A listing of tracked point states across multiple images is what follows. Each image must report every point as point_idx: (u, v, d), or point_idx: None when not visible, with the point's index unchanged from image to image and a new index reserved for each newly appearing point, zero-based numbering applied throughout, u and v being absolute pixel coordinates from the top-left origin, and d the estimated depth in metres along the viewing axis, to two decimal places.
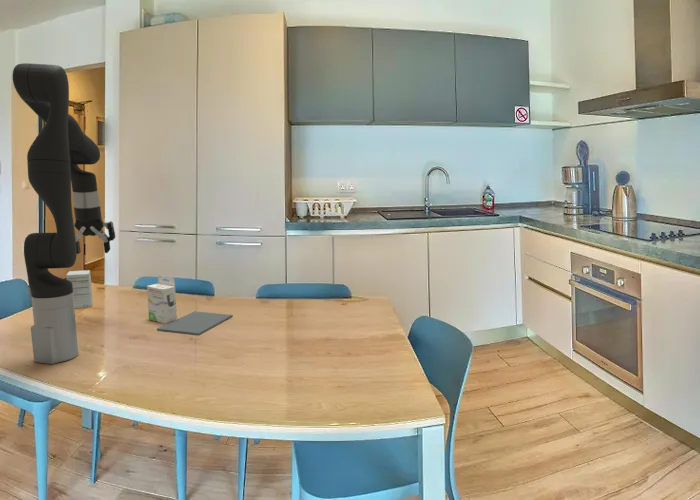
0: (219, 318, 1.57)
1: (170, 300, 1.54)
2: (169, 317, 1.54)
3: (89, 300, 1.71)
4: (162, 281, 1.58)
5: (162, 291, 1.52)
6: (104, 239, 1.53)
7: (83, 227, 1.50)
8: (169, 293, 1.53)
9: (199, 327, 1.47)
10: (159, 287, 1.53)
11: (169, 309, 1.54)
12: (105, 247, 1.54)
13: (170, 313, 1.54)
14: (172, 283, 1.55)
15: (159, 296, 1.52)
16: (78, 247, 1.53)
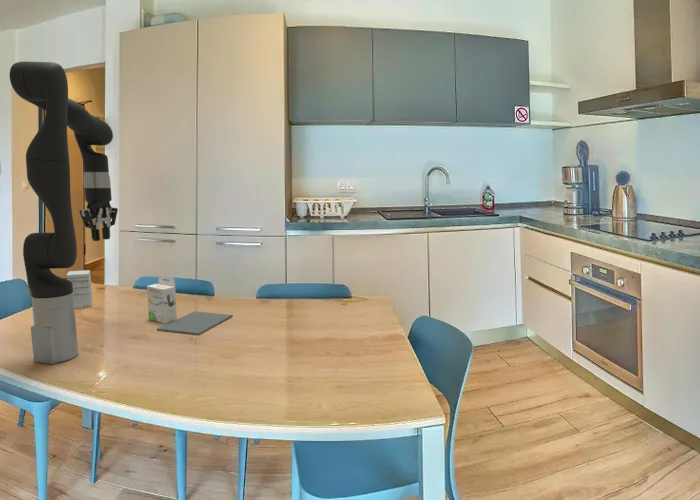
0: (219, 318, 1.57)
1: (170, 300, 1.54)
2: (169, 317, 1.54)
3: (89, 300, 1.71)
4: (162, 281, 1.58)
5: (162, 291, 1.52)
6: (108, 224, 1.52)
7: (100, 209, 1.48)
8: (169, 293, 1.53)
9: (199, 327, 1.47)
10: (159, 287, 1.53)
11: (169, 309, 1.54)
12: (108, 233, 1.53)
13: (170, 313, 1.54)
14: (172, 283, 1.55)
15: (159, 296, 1.52)
16: None
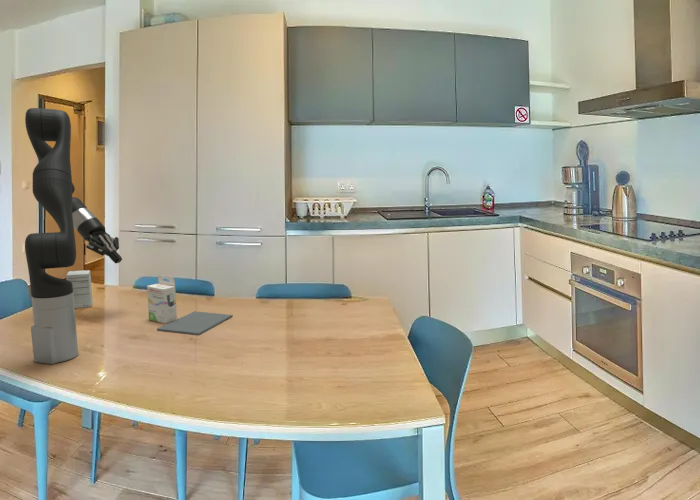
0: (219, 318, 1.57)
1: (170, 300, 1.54)
2: (169, 317, 1.54)
3: (89, 300, 1.71)
4: (162, 281, 1.58)
5: (162, 291, 1.52)
6: (113, 248, 1.59)
7: (99, 236, 1.57)
8: (169, 293, 1.53)
9: (199, 327, 1.47)
10: (159, 287, 1.53)
11: (169, 309, 1.54)
12: (117, 254, 1.58)
13: (170, 313, 1.54)
14: (172, 283, 1.55)
15: (159, 296, 1.52)
16: None
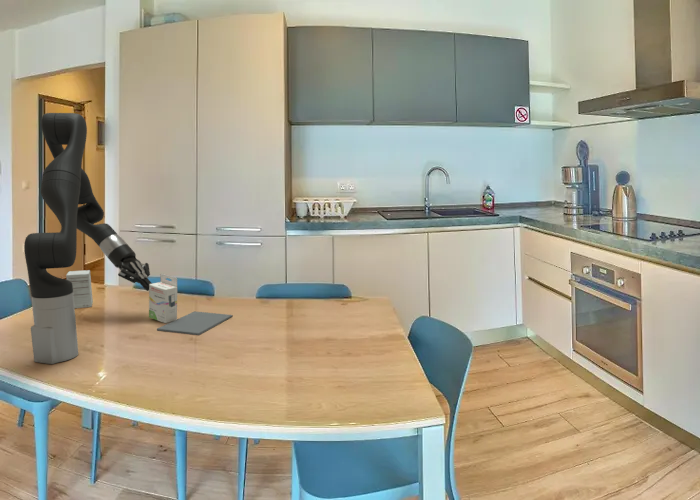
0: (219, 318, 1.57)
1: (172, 301, 1.53)
2: (169, 317, 1.54)
3: (89, 300, 1.71)
4: (164, 280, 1.57)
5: (164, 291, 1.51)
6: (144, 275, 1.57)
7: (131, 263, 1.55)
8: (171, 293, 1.53)
9: (199, 327, 1.47)
10: (161, 287, 1.53)
11: (170, 309, 1.53)
12: (149, 281, 1.56)
13: (171, 313, 1.54)
14: (174, 283, 1.55)
15: (161, 296, 1.52)
16: None
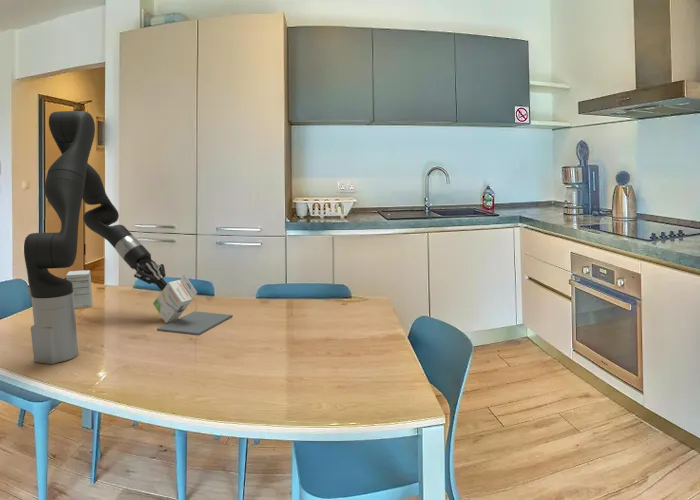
0: (219, 318, 1.57)
1: (181, 309, 1.52)
2: (172, 319, 1.53)
3: (89, 300, 1.71)
4: (184, 282, 1.53)
5: (179, 301, 1.48)
6: (160, 276, 1.55)
7: (146, 264, 1.53)
8: (184, 304, 1.50)
9: (199, 327, 1.47)
10: (179, 294, 1.49)
11: (176, 314, 1.52)
12: (165, 282, 1.55)
13: (174, 316, 1.53)
14: (192, 294, 1.52)
15: (174, 301, 1.50)
16: None
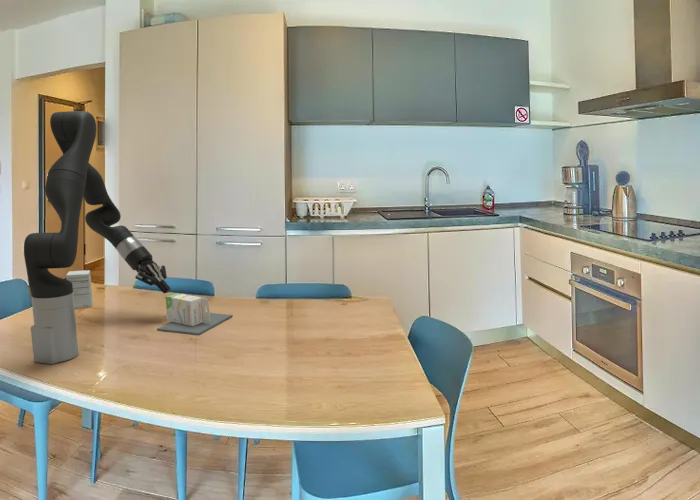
0: (219, 318, 1.57)
1: None
2: None
3: (89, 300, 1.71)
4: (204, 304, 1.50)
5: (190, 323, 1.48)
6: (161, 278, 1.55)
7: (148, 265, 1.54)
8: None
9: (199, 327, 1.47)
10: (193, 316, 1.48)
11: None
12: (166, 284, 1.55)
13: None
14: (205, 319, 1.51)
15: (185, 318, 1.49)
16: None
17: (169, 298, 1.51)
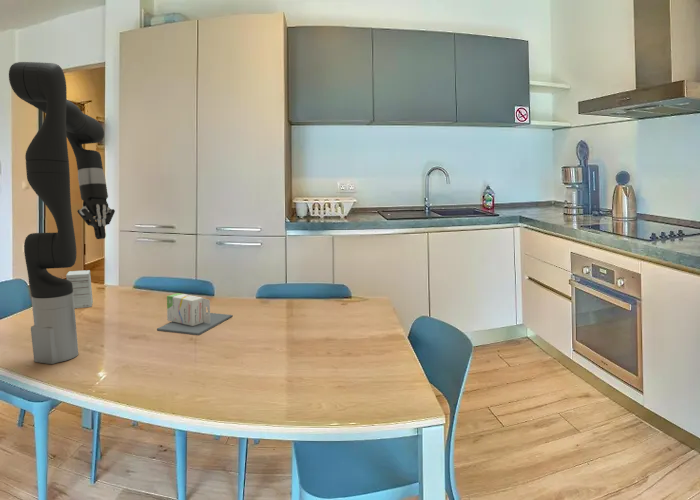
0: (219, 318, 1.57)
1: None
2: None
3: (89, 300, 1.71)
4: (205, 304, 1.51)
5: (190, 323, 1.48)
6: (102, 223, 1.47)
7: (97, 205, 1.45)
8: None
9: (199, 327, 1.47)
10: (194, 316, 1.48)
11: None
12: (103, 231, 1.47)
13: None
14: (205, 319, 1.51)
15: (186, 318, 1.49)
16: None
17: (170, 297, 1.51)
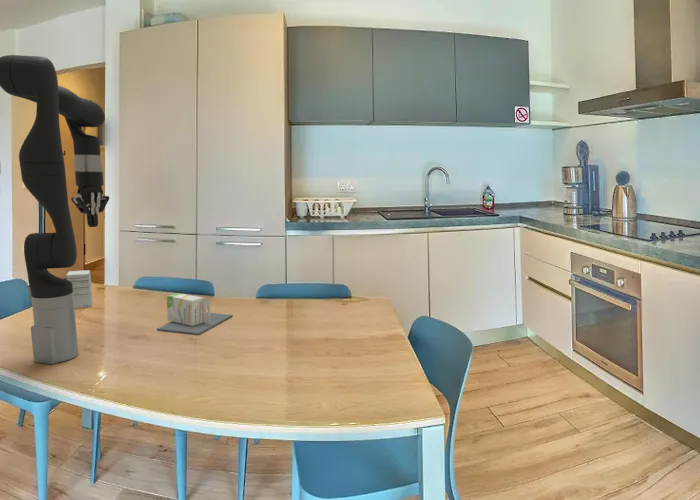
0: (219, 318, 1.57)
1: None
2: None
3: (89, 300, 1.71)
4: (205, 304, 1.51)
5: (190, 323, 1.48)
6: (96, 211, 1.45)
7: (92, 193, 1.42)
8: None
9: (199, 327, 1.47)
10: (194, 316, 1.48)
11: None
12: (96, 220, 1.45)
13: None
14: (205, 319, 1.51)
15: (186, 318, 1.49)
16: None
17: (170, 297, 1.51)
